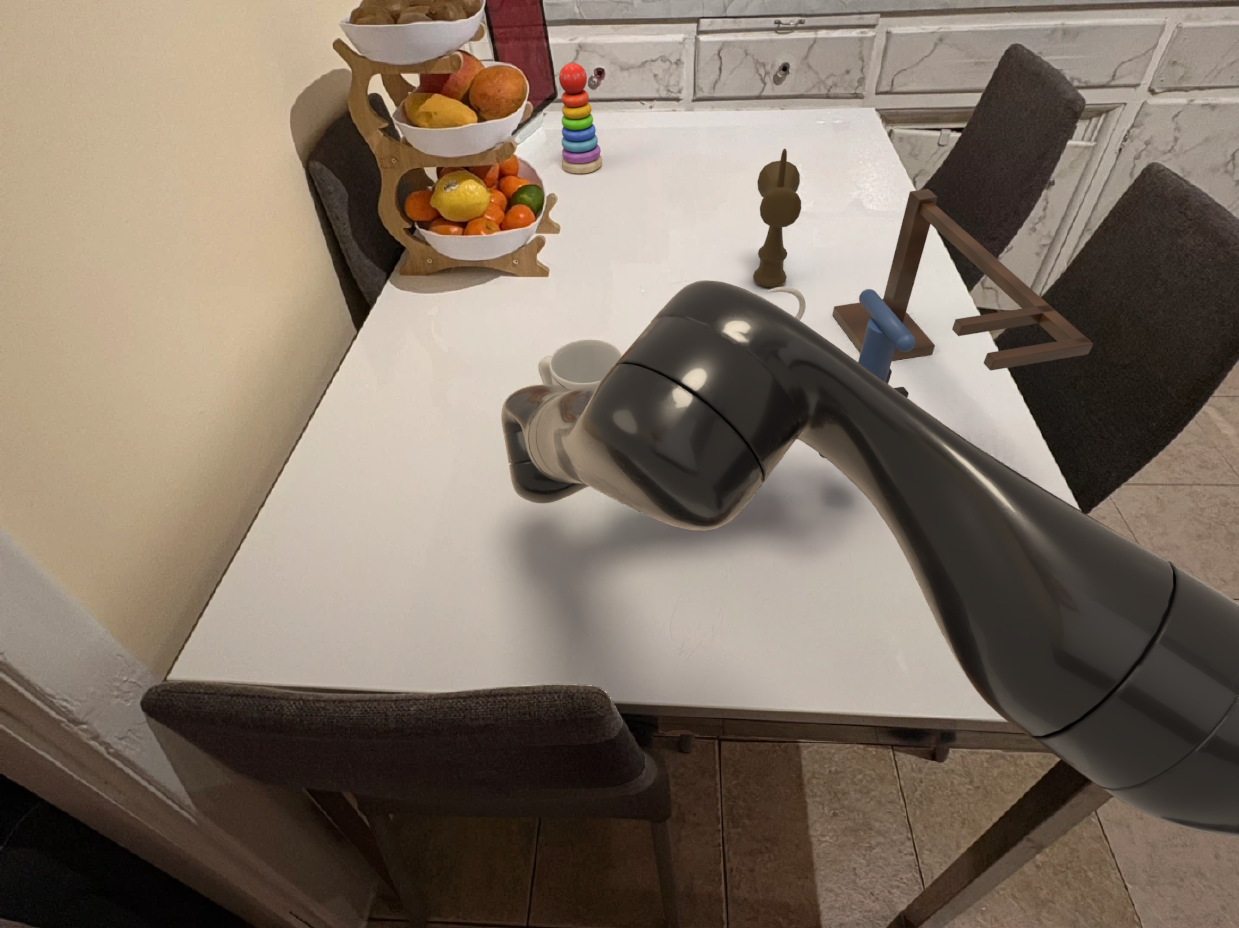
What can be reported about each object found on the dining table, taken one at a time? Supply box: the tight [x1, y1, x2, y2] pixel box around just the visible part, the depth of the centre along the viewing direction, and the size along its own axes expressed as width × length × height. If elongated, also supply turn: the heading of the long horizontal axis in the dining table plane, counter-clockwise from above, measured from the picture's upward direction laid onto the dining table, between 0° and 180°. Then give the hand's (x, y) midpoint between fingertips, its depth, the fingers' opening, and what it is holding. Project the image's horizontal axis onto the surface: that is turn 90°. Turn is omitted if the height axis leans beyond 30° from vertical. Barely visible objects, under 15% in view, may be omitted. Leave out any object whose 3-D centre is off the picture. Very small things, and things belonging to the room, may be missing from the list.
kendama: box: [752, 148, 802, 288], centre depth 103 cm, size 6×10×20 cm, turn 173°
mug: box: [537, 339, 623, 390], centre depth 86 cm, size 11×8×10 cm
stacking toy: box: [558, 62, 603, 174], centre depth 136 cm, size 8×8×19 cm
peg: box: [857, 288, 915, 382], centre depth 68 cm, size 4×9×17 cm, turn 11°
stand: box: [832, 188, 1094, 371], centre depth 84 cm, size 36×12×20 cm, turn 11°
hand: (895, 386), depth 69 cm, fingers closed on peg, 3 cm apart
